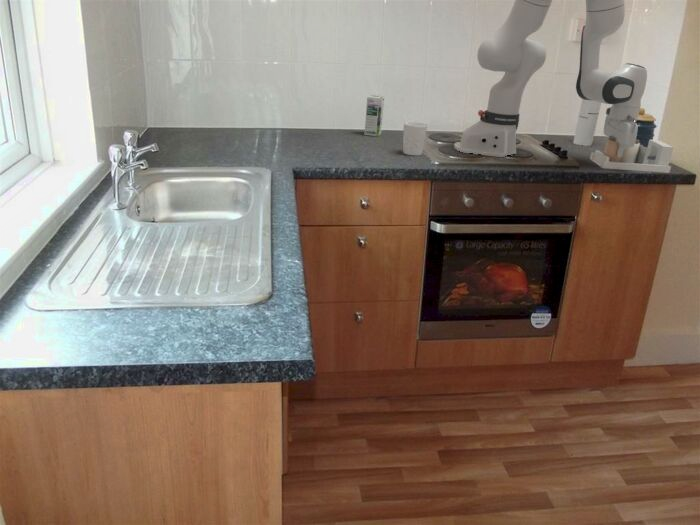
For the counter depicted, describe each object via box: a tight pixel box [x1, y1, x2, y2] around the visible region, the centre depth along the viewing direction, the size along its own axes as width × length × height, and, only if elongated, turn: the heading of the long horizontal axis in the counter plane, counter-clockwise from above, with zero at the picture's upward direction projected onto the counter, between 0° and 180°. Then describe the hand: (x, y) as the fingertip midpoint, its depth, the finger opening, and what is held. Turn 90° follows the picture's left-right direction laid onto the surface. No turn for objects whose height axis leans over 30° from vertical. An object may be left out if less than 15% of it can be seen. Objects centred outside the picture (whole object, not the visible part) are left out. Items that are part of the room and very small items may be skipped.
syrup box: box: [363, 94, 385, 137], centre depth 242 cm, size 6×6×14 cm
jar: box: [603, 136, 622, 162], centre depth 221 cm, size 6×6×9 cm
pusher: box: [635, 144, 656, 164], centre depth 222 cm, size 10×10×7 cm
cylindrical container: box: [572, 98, 602, 147], centre depth 252 cm, size 7×7×25 cm
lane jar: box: [621, 139, 640, 163], centre depth 223 cm, size 6×6×9 cm
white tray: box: [589, 139, 674, 174], centre depth 222 cm, size 23×13×9 cm, turn 89°
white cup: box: [402, 121, 428, 156], centre depth 218 cm, size 8×8×10 cm
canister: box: [636, 107, 658, 147], centre depth 241 cm, size 13×13×18 cm
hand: (614, 153), depth 222 cm, fingers closed on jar, 6 cm apart
